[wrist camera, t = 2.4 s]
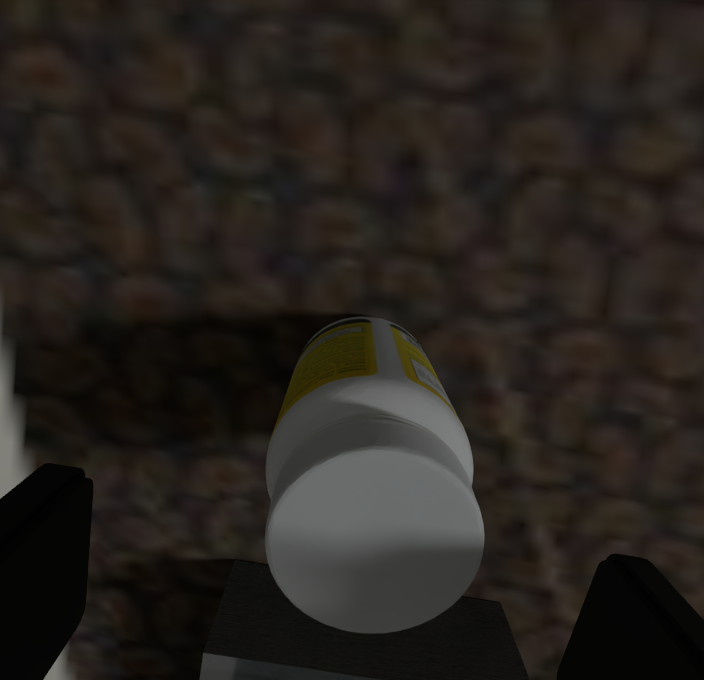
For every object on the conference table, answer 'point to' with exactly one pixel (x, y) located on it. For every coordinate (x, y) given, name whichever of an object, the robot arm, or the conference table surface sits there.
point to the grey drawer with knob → (350, 641)
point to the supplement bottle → (370, 484)
